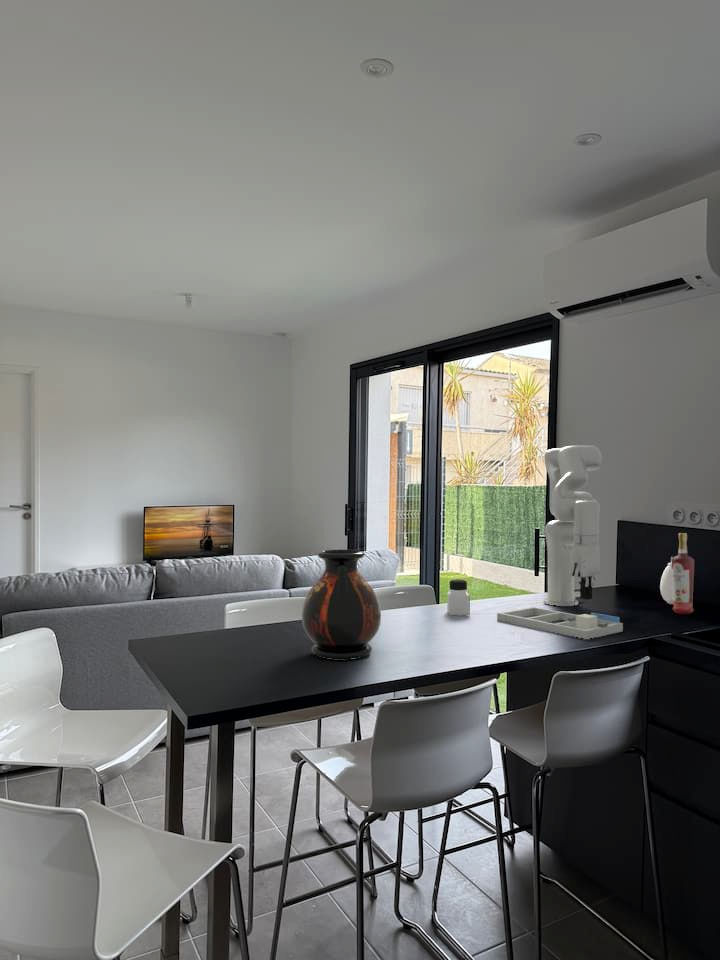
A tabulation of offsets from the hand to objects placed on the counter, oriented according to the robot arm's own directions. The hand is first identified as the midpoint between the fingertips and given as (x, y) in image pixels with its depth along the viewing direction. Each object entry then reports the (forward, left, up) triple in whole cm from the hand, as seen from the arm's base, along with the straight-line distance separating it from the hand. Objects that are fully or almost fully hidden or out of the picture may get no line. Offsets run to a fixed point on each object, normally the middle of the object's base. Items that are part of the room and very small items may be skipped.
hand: (586, 598), depth 219 cm
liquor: (-51, +4, -10) cm, 52 cm away
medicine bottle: (+11, -44, -10) cm, 47 cm away
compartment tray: (0, -10, -10) cm, 15 cm away
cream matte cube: (0, 0, -10) cm, 10 cm away
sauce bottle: (-65, -8, -10) cm, 66 cm away
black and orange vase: (+76, -23, -10) cm, 81 cm away
